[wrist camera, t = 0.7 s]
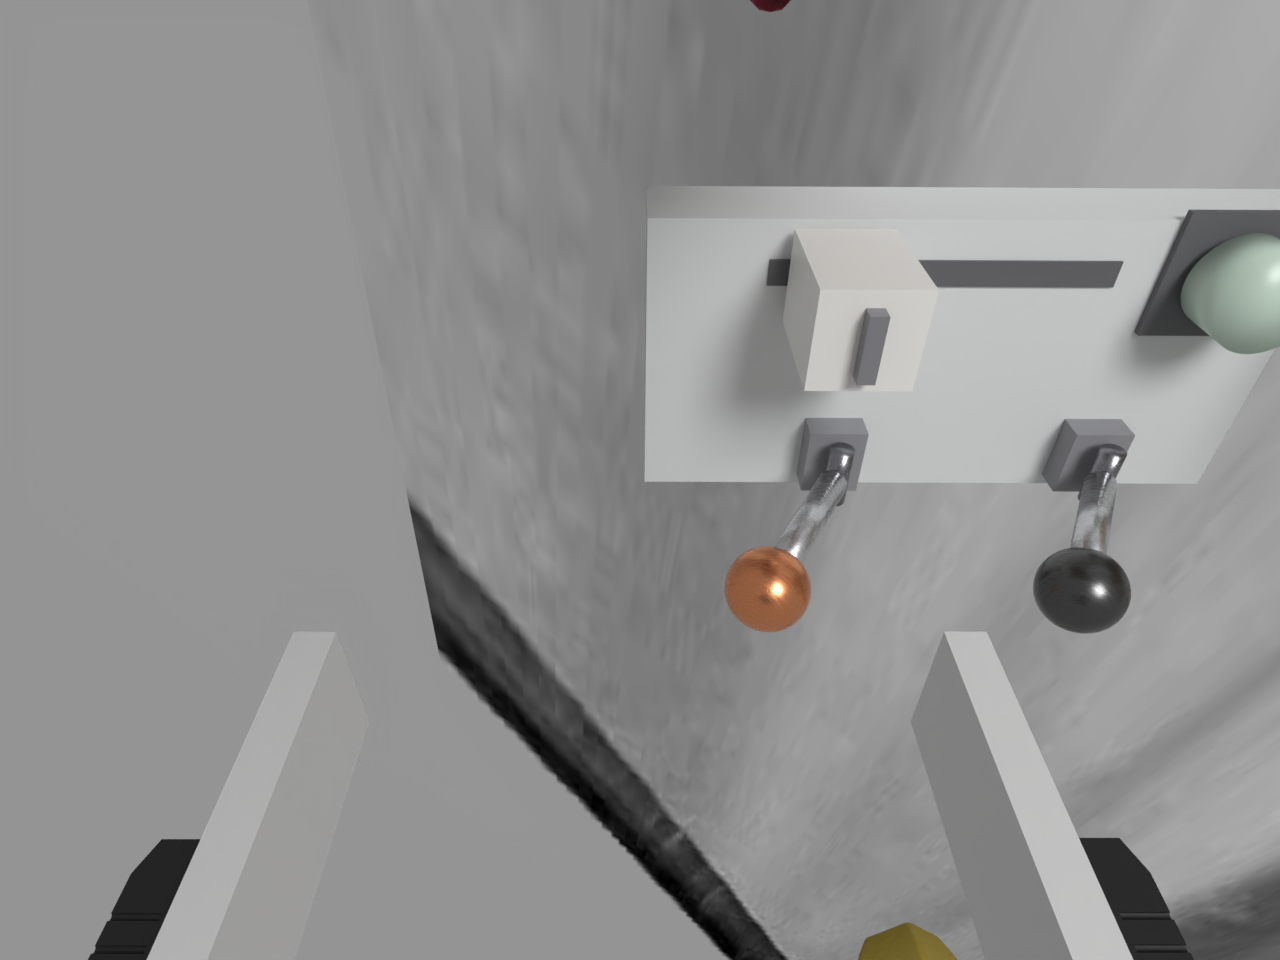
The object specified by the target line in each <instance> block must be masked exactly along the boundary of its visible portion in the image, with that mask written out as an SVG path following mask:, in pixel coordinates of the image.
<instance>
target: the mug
mask: <svg viewBox="0 0 1280 960" xmlns="http://www.w3.org/2000/svg"><path fill="white" fill-rule="evenodd" d="M750 1H751V2H752V3H753V4H754V5H755V6H756V7H757V8H758V9H759V10H761V11H767V12H774V11H779V10H782V9H783V8H784V7H785V6H786V5H787V4H788V3H789V2H790V1H791V0H750Z"/></svg>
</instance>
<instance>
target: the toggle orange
mask: <svg viewBox="0 0 1280 960" xmlns="http://www.w3.org/2000/svg"><path fill="white" fill-rule="evenodd" d="M854 456H855V448H854V447H853V446H851V445H850V444H847V443H841V442H839V443H834V444H832V445H831V447H830V452H829V457H828V462H827V468H826V471H824V472H822V473H821V474H820V476H819V477H818V479H817V481H816V482H815V484H814V485H813V487H812V488H811V490H810V491H809V493H808V495H807V496H806V498H805V499H804V501H803V502H802V504H801V505H800V507H799V509H798V510H797V512H796V513H795V515H794V516H793V518H792V519H791V521H790V522H789V524H788V526H787V527H786V529H785V530H784V532H783V533H782V535H781V536H780V538H779V540H778V541H777V543H776V544H775V546H774V547H772V546H761V547H756V548H753V549H750V550H748V551H746V552H744V553H743V554H741V555H740V556H739V557H738V558H737V559H736V560H735V561H734V562H733V563H732V565H731V566H730V568H729V570H728V572H727V575H726V579H725V584H724V592H725V598H726V602H727V605H728V607H729V609H730V611H731V612H732V614H733V615H734V616H735V618H736V619H737V620H738V621H739V622H741V623H742V624H743V625H745V626H746V627H748V628H750V629H753V630H755V631H759V632H766V633H771V632H778V631H782V630H785V629H787V628H789V627H791V626H792V625H794V624H795V623H796V622H798V620H799V619H800V618H801V617H802V616H803V615H804V613H805V611H806V610H807V607H808V605H809V602H810V598H811V583H810V578H809V576H808V573H807V571H806V569H805V567H804V566H803V562H804V561H805V559H806V557H807V555H808V554H809V552H810V550H811V549H812V547H813V545H814V544H815V542H816V540H817V538H818V537H819V535H820V533H821V532H822V530H823V528H824V526H825V525H826V523H827V521H828V520H829V518H830V516H831V515H832V513H833V511H834V509H835V508H836V506H841V505H842V504H843V503H844V501H845V497H846V492H847V488H848V483H849V479H850V474H851V470H852V465H853V461H854Z"/></svg>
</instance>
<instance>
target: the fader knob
mask: <svg viewBox="0 0 1280 960" xmlns="http://www.w3.org/2000/svg"><path fill="white" fill-rule="evenodd" d="M938 292H939V289H938V288H937V287H936V285H935V284H934V282H933V281H932V279H931V278H930V276H929V275H928V274H927V272H926V271H925V269H924V268H923V266H922V265H921V264H920V262H919V261H918V259H917V258H916V256H915V255H914V253H913V252H912V251H911V249H910V248H909V246H908V245H907V243H906V242H905V240H904V239H903V238H902V236H901V235H900V233H899V232H898V230H897V229H797V228H795V231H794V238H793V246H792V253H791V261H790V269H789V276H788V284H787V291H786V299H785V307H784V314H783V324H784V327H785V331H786V334H787V337H788V340H789V343H790V347H791V350H792V353H793V356H794V360H795V363H796V366H797V369H798V373H799V376H800V379H801V382H802V386H803V389H804V391H906V392H913V388H914V384H915V380H916V376H917V373H918V369H919V365H920V361H921V357H922V354H923V350H924V346H925V342H926V338H927V334H928V331H929V327H930V323H931V319H932V315H933V312H934V308H935V304H936V300H937V296H938Z"/></svg>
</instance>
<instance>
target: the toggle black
mask: <svg viewBox="0 0 1280 960" xmlns="http://www.w3.org/2000/svg"><path fill="white" fill-rule="evenodd" d="M1126 457H1127V452H1126V450H1125V449H1123V448H1122V447H1120V446H1118V445H1115V444H1103V445H1101V446H1100V448H1099V451H1098V453H1097V455H1096V457H1095V459H1094V461H1093V464H1092V466H1091V468H1090V470H1089V472H1088V474H1087V476H1086V477H1085V479H1084V482H1083V485H1082V487H1081V490H1080V492H1079V494H1078V500H1079V506H1078V511H1077V515H1076V520H1075V525H1074V530H1073V534H1072V539H1071V544H1070V548H1068V549H1063V550H1060V551H1058V552H1056V553H1054V554H1052V555H1051V556H1049V557H1048V558H1047V559H1046V560H1044V561H1043V562H1042V564H1041V565H1040V566H1039V568H1038V570H1037V571H1036V574H1035V577H1034V581H1033V594H1034V598H1035V601H1036V604H1037V606H1038V608H1039V609H1040V611H1041V612H1042V614H1043V615H1044V616H1045V617H1046V618H1047V619H1048V620H1049V621H1050V622H1052V623H1053V624H1055V625H1056V626H1058V627H1060V628H1062V629H1064V630H1067V631H1070V632H1074V633H1082V634H1089V633H1097V632H1101V631H1103V630H1106V629H1108V628H1110V627H1112V626H1113V625H1115V624H1116V623H1118V622H1119V621H1120V620H1121V618H1122V617H1123V616H1124V615H1125V613H1126V611H1127V609H1128V607H1129V604H1130V600H1131V587H1130V582H1129V579H1128V577H1127V575H1126V573H1125V571H1124V570H1123V569H1122V567H1121V566H1120V565H1119V564H1118V563H1117V562H1116V561H1115V560H1114V559H1112V558H1111V557H1110V556H1108V555H1106V554H1107V548H1108V542H1109V535H1110V529H1111V523H1112V516H1113V510H1114V503H1115V497H1116V491H1117V480H1116V477H1117V475H1118V473H1119V471H1120V469H1121V467H1122V465H1123V463H1124V461H1125V459H1126Z"/></svg>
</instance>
